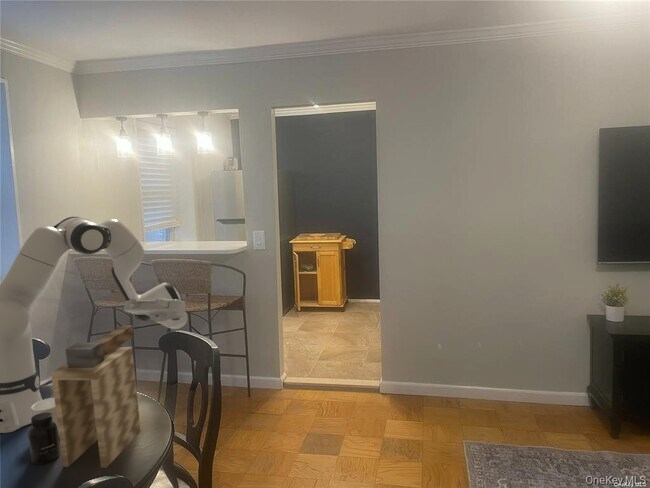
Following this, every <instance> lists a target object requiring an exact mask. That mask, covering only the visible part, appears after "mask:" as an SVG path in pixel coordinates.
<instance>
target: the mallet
mask: <svg viewBox="0 0 650 488" xmlns="http://www.w3.org/2000/svg"><path fill="white" fill-rule="evenodd" d="M134 337H135V335H134V325H131V324H130V325H129V324H128V325H127V324H125V325H121V326H118V327H117V328H115V329H113V330H112V331H110V332H109V333H107V334H105V335H104V336H102V337H100V338H99V339H96V340H95V341H92V342H76V343H74V344H72V345H71V346H69V347H67V348H65V354H66V355H65V356H66V363H67V365H68V368H94V367H95V366H97V365H98V364H100V363H101V362H102V361H104V356H105V355H107V354H108V353H110V352H111V351H113V350H114V349H116V348H117V347H121V346H122V345H123V344H125V343H126V342H128V341H129V340H131V339H133V338H134Z"/></svg>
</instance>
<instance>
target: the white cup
mask: <svg viewBox="0 0 650 488" xmlns="http://www.w3.org/2000/svg"><path fill="white" fill-rule="evenodd" d="M31 410H32V415H33V416H35V415H37V414H40V413H44V412H49V413H51V414H52V419H53V422H55V423H56V424H57V427H58V421H57V414H56V406H55V399H54V397H49V398H45V399H42V400H41V401H39V402H37V403H35V404H34V405H32V407H31ZM58 436H59V429H58Z"/></svg>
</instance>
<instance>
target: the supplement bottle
mask: <svg viewBox="0 0 650 488" xmlns="http://www.w3.org/2000/svg"><path fill="white" fill-rule="evenodd" d="M30 424H31V427H30V428H29V429H28V434H27V435H28V443H29V452H30V453H29V454H30V460H31V462H32V463H33V464H34V465H44V464H48V463H51V462H53V461H55V460H56V459H57V458H58V457H59V456H60V455H61V444H60V437H59V436H58V427H57V424H56V423H55V422H53V419H52V414H51V413H49V412H44V413H40V414H37V415H35V416H33V417H32V418H31V423H30Z"/></svg>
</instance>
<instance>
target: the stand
mask: <svg viewBox="0 0 650 488" xmlns="http://www.w3.org/2000/svg"><path fill="white" fill-rule="evenodd" d="M50 373H51V381H52V382H51V383H52V388H53V389H52V390H53V398H54V399H55V406H56V414H57V421H58V429H59V445H60V453H61V458H62V466H63V467H64V468H66V467H67V468H70V466H72V465H73V463H75V462H76V461H77V460H78V459H79V458H80V457H81V456H82V455H83V454H84V453H85V452H86V451H87V450H88V449H89V448H90V447H91V446H92V445H94V444H95V443H96V442H97V443H98V444H97V445H98V455H99V461H100V462H99V463H100V468H101V469H107V468H109V466H110V465H111V464H112V463H113V462H114V461H115V460H116V458H117V457H118V456H119V455H120V454H121V453H122V452H123V451H124V450H125V449H126V448H127V446H128V445H129V444H130V443H131V442H132V441H133V440H134V439H135V438H136V436H137V435H139V434H140V432H142V431H141V430H142V428H141V421H140V419H141V418H140V412H139V401H138V393H137V392H138V391H137V382H136V380H137V379H136V373H135V361H134V355H133V346H119V347H117V348H116V349H114V350H113V351H111V352H110V353H108V354H107V355H105V356H104V361H102V362H101V363H100V364H98V365H97V366H95V367H94V368H68V365H67V362H66V363H64V364H63V365H60V366H59V367H58V368H56V369H54V370H52V371H51V372H50Z"/></svg>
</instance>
